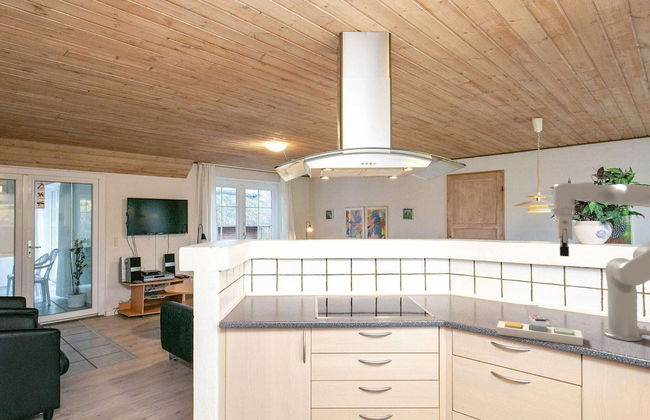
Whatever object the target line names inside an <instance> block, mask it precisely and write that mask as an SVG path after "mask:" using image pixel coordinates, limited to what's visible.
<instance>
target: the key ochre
mask: <svg viewBox="0 0 650 420" xmlns="http://www.w3.org/2000/svg"><path fill="white" fill-rule="evenodd" d="M505 322H506V324H505V327H510V328H518V329H522V324H523V323H522V322H517V321H516V322H515V321H507V320H506V321H505Z"/></svg>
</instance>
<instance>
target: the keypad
mask: <svg viewBox="0 0 650 420" xmlns="http://www.w3.org/2000/svg"><path fill="white" fill-rule="evenodd" d="M505 324H506V321H503V320H498V322H497V326H496V335H499V336H507V337H514V338H515V337H516V338H522V339H528V340H529V339H530V340H537V341H543V342H544V341H545V342H551V343H558V344H560V343H561V344H569V345H575V346H584V337H583V333H582V331H581V330H580V329H572V331H573V335H566V334H558V333H555V326H550V327H546V330H547V332H542V331H534V330H530V329H529V324H530V323H529V324H526V323H522V329H518V328H510V327H505Z"/></svg>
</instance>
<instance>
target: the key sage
mask: <svg viewBox="0 0 650 420" xmlns="http://www.w3.org/2000/svg"><path fill="white" fill-rule="evenodd" d="M554 328H555V333H558V334H566V335H573V331H572V330H573V328H566V327H559V326H558V327H557V326H554Z"/></svg>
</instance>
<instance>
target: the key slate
mask: <svg viewBox="0 0 650 420" xmlns="http://www.w3.org/2000/svg"><path fill="white" fill-rule="evenodd" d="M529 329H530V330H534V331H542V332H547V330H546V323H542V322H533V321H530V320H529Z"/></svg>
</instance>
